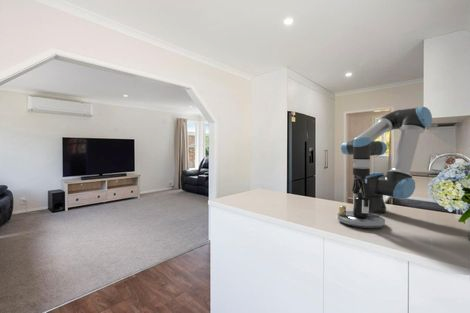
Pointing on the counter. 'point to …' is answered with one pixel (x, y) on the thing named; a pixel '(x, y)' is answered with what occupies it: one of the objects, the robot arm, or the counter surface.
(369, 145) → the robot arm
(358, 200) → the supplement bottle
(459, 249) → the counter surface
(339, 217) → the turntable
